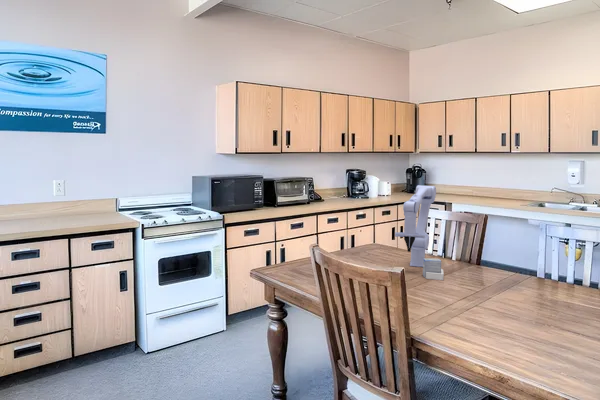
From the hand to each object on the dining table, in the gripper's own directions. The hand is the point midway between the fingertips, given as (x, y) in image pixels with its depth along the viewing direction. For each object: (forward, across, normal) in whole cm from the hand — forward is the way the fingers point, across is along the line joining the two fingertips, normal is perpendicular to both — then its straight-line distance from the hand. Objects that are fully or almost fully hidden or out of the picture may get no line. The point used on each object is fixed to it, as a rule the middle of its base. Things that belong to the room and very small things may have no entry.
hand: (409, 251), depth 212 cm
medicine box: (+11, +11, -6) cm, 17 cm away
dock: (+10, +12, -6) cm, 17 cm away
